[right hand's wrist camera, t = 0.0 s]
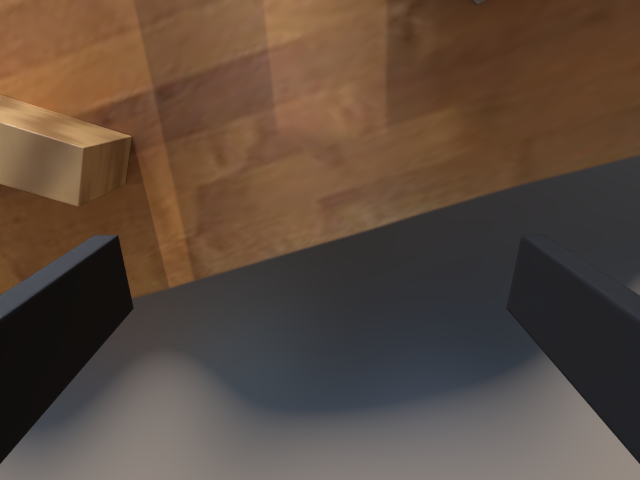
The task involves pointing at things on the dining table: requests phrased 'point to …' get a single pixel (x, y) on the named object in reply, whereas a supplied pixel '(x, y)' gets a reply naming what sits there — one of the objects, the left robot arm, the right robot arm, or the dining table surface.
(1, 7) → the dining table surface
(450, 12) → the dining table surface
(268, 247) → the dining table surface
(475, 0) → the hard drive box
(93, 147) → the beam
